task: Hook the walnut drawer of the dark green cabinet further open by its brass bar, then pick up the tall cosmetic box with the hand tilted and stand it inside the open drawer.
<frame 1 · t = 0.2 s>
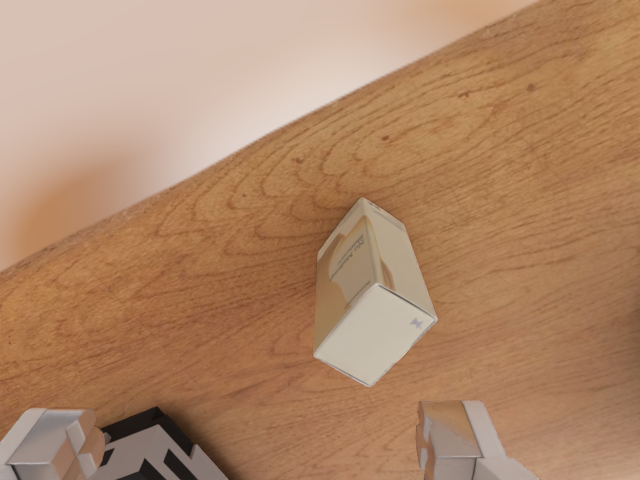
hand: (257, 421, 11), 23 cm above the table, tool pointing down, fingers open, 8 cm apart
cosmetic box: (358, 238, 35), on the table
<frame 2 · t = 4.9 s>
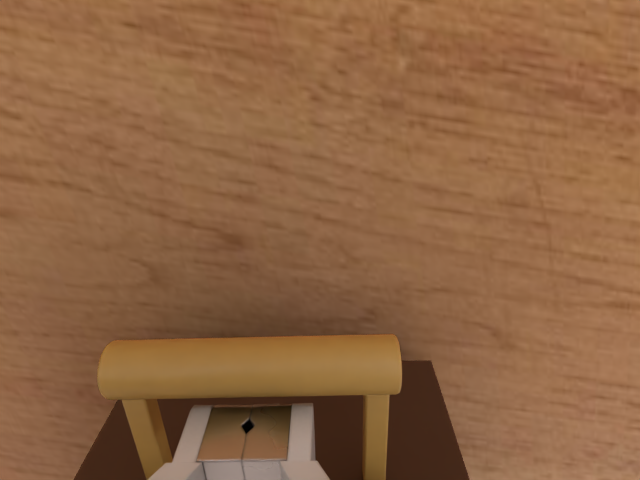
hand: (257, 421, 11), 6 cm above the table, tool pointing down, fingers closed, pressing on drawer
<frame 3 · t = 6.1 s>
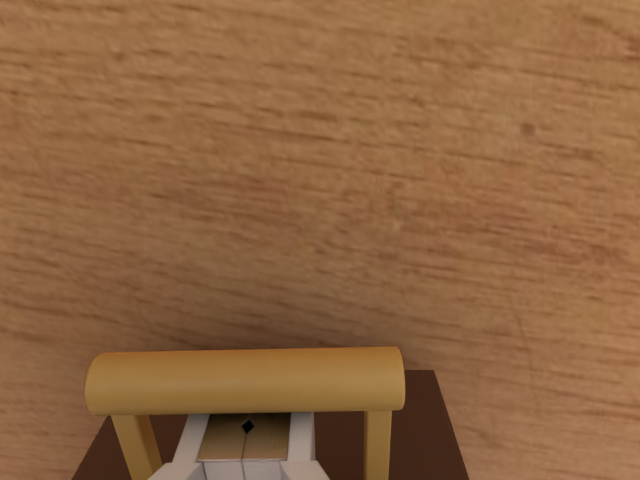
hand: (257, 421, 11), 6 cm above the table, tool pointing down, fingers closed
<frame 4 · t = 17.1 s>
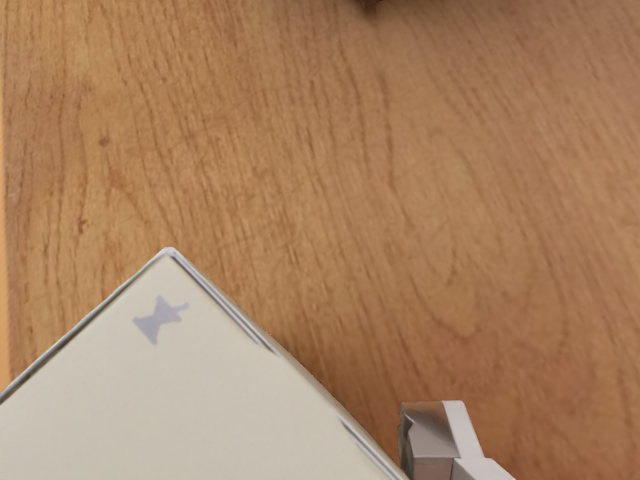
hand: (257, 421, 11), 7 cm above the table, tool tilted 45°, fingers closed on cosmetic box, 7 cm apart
cosmetic box: (285, 427, 17), on the table, touching gripper
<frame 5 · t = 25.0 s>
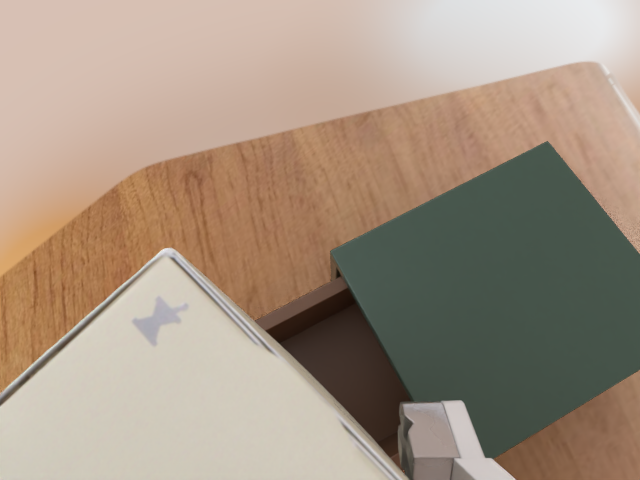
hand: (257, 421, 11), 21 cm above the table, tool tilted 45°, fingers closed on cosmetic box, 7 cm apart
drawer: (288, 412, 26), point 5 cm above the table, slide at 9.2 cm
cosmetic box: (285, 427, 17), point 14 cm above the table, touching gripper
cabinet: (458, 318, 32), on the table
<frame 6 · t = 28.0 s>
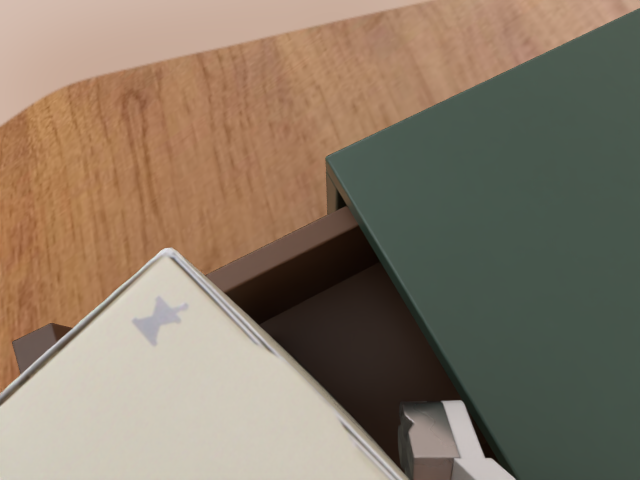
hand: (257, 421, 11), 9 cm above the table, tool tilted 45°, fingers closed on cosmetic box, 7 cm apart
drawer: (253, 445, 15), point 5 cm above the table, slide at 9.2 cm, touching gripper
cosmetic box: (285, 427, 17), point 3 cm above the table, touching gripper
cabinet: (521, 294, 21), on the table
when the fingers open (10 cm above the table, at t = 33.2 s): cosmetic box stays where it is, resting on drawer.
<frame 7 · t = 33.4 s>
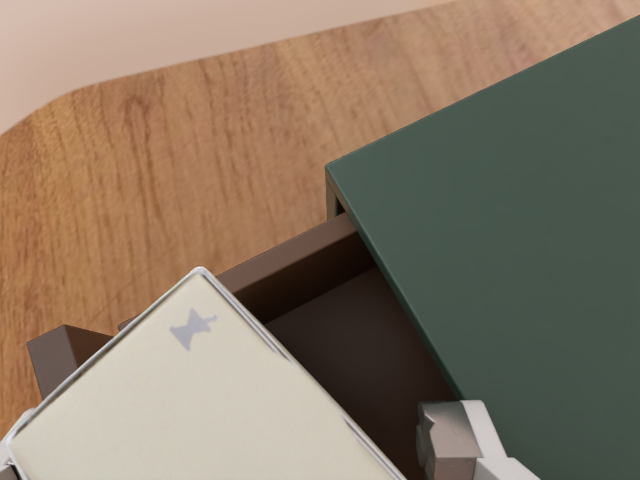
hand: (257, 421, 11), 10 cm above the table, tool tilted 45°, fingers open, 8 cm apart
drawer: (258, 442, 15), point 5 cm above the table, slide at 9.1 cm, touching cosmetic box
cosmetic box: (287, 426, 18), point 2 cm above the table, touching drawer
cabinet: (517, 296, 22), on the table
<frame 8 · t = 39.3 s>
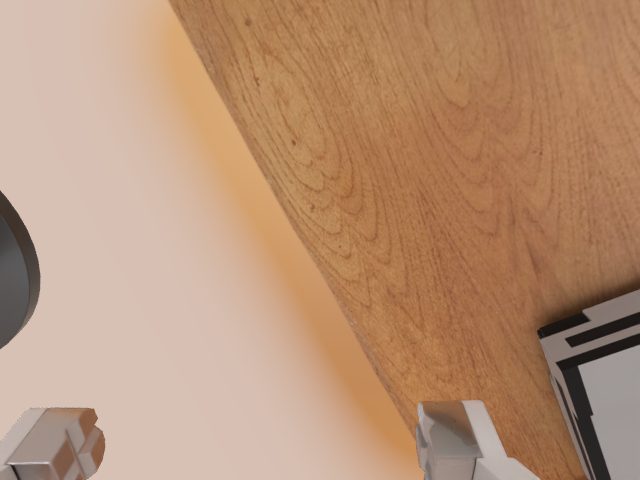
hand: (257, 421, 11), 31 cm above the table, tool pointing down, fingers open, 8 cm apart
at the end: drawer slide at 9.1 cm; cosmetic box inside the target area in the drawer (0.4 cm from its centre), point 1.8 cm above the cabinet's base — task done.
